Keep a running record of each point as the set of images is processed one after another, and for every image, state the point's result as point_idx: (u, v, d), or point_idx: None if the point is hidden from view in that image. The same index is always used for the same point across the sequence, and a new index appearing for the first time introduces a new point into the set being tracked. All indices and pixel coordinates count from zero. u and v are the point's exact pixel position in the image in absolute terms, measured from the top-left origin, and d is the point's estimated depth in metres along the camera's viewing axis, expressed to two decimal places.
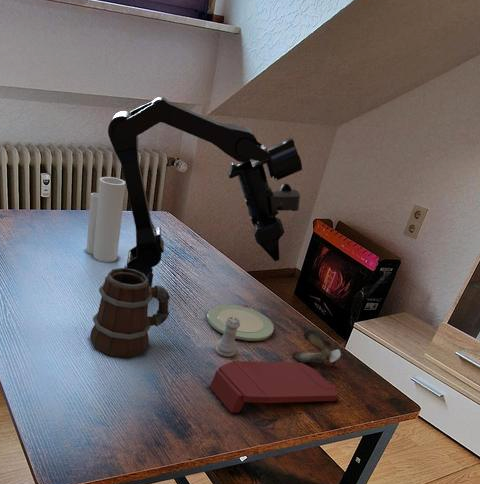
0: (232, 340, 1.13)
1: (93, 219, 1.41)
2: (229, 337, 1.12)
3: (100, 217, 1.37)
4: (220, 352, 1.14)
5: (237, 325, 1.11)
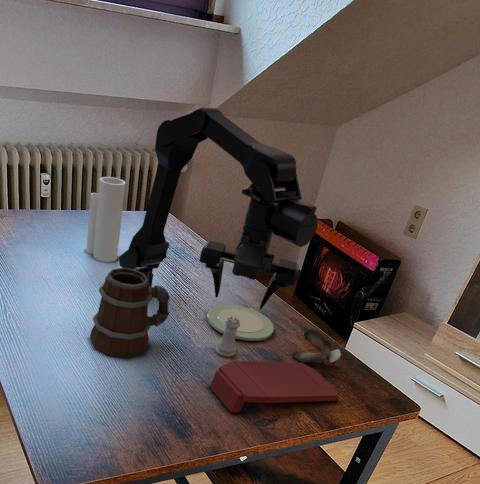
0: (232, 340, 1.13)
1: (93, 219, 1.41)
2: (229, 337, 1.12)
3: (100, 217, 1.37)
4: (220, 352, 1.14)
5: (237, 325, 1.11)
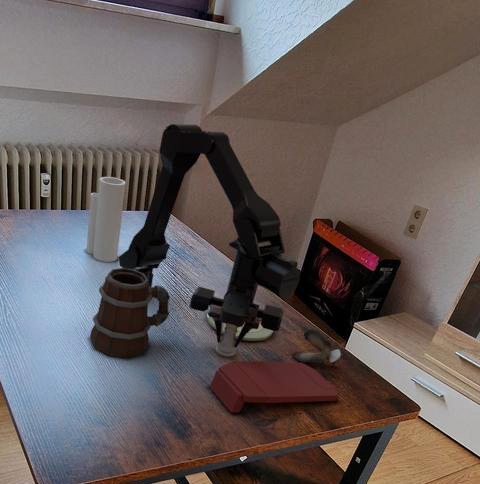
0: (232, 340, 1.13)
1: (93, 219, 1.41)
2: (229, 337, 1.12)
3: (100, 217, 1.37)
4: (220, 352, 1.14)
5: None
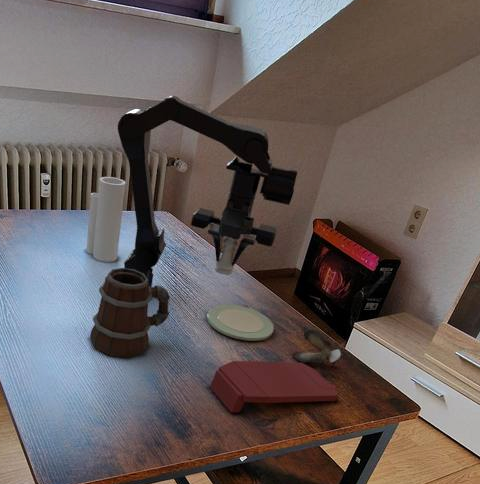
0: (229, 258, 1.23)
1: (93, 219, 1.41)
2: (227, 255, 1.22)
3: (100, 217, 1.37)
4: (219, 270, 1.24)
5: (234, 243, 1.21)
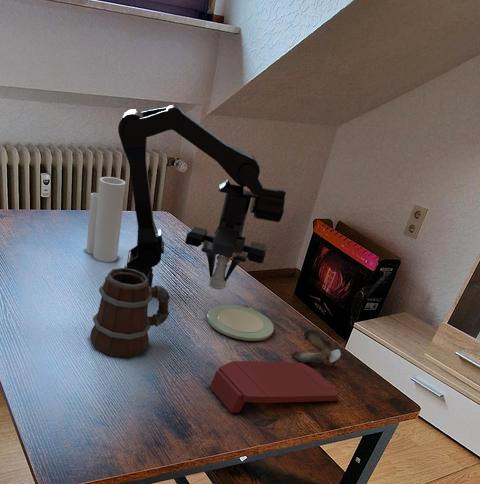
0: (222, 274, 1.29)
1: (93, 219, 1.41)
2: (220, 271, 1.28)
3: (100, 217, 1.37)
4: (212, 285, 1.30)
5: (227, 260, 1.26)
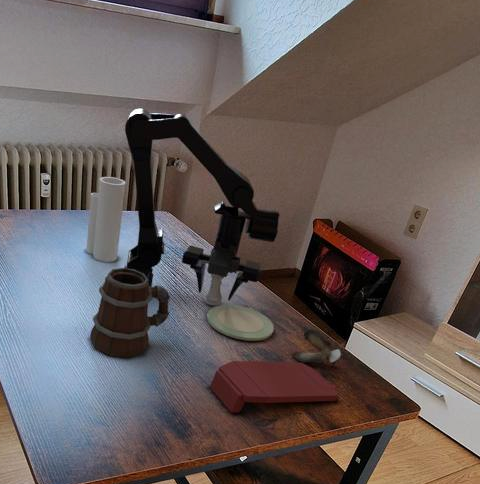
0: (217, 290, 1.31)
1: (93, 219, 1.41)
2: (215, 288, 1.31)
3: (100, 217, 1.37)
4: (208, 302, 1.33)
5: (221, 277, 1.29)
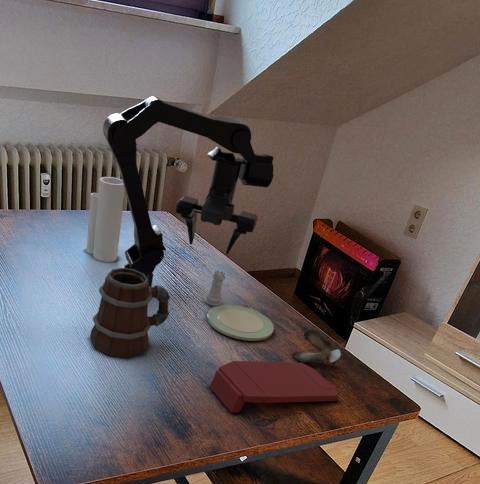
0: (218, 291, 1.31)
1: (93, 219, 1.41)
2: (216, 288, 1.31)
3: (100, 217, 1.37)
4: (208, 302, 1.33)
5: (222, 277, 1.29)
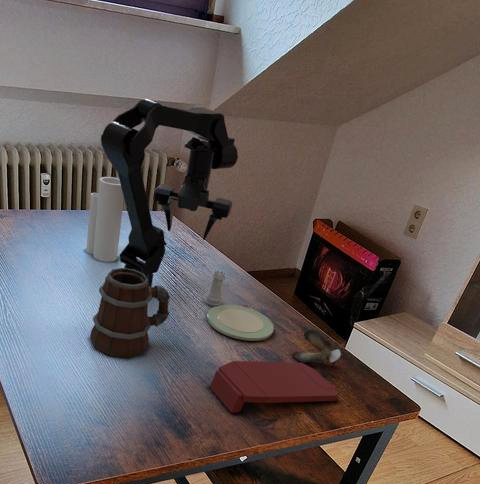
0: (218, 291, 1.31)
1: (93, 219, 1.41)
2: (216, 288, 1.31)
3: (100, 217, 1.37)
4: (208, 302, 1.33)
5: (222, 277, 1.29)
